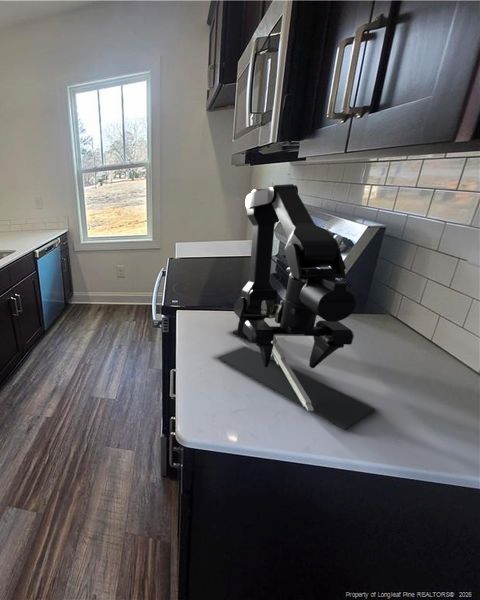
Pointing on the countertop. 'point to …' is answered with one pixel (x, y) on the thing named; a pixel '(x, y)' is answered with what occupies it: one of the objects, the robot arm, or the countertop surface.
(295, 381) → the caliper
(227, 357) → the mat
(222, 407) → the countertop surface
